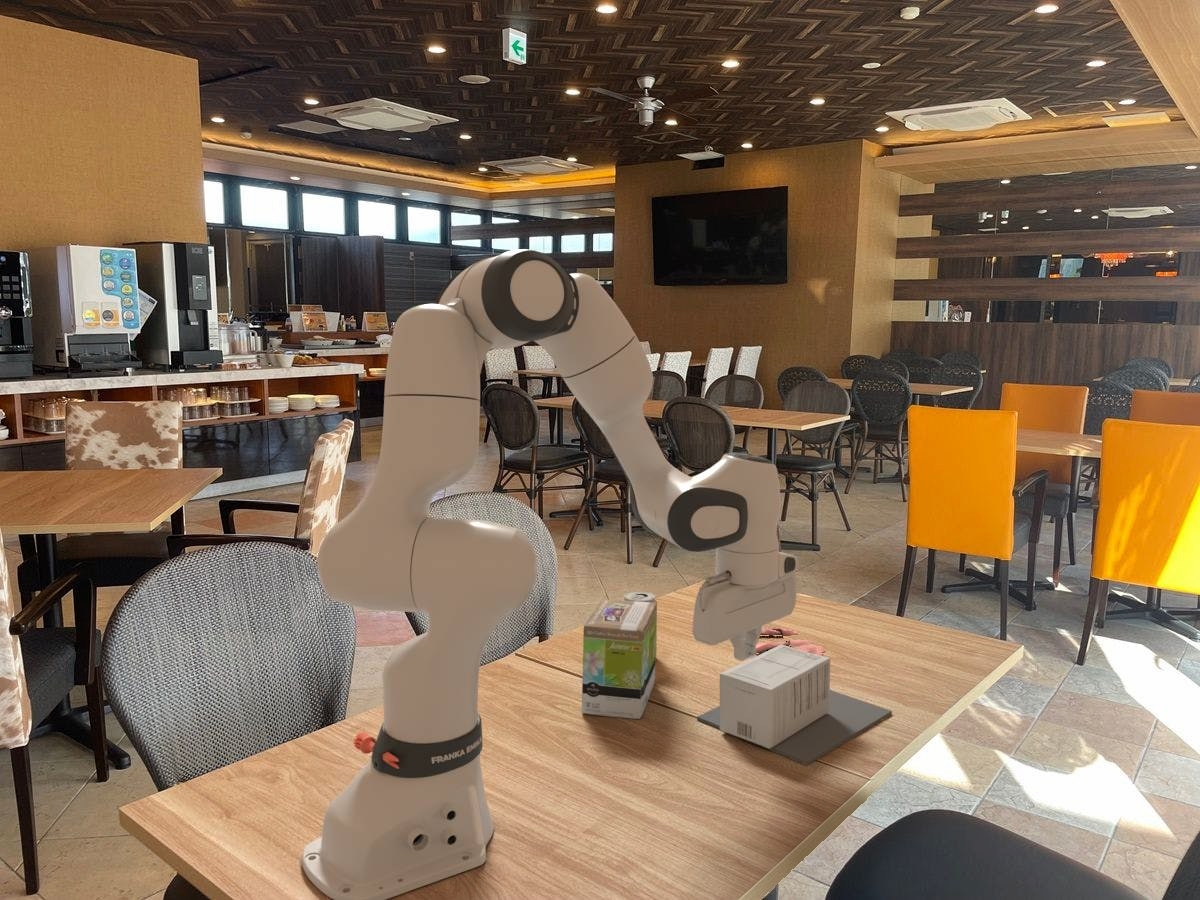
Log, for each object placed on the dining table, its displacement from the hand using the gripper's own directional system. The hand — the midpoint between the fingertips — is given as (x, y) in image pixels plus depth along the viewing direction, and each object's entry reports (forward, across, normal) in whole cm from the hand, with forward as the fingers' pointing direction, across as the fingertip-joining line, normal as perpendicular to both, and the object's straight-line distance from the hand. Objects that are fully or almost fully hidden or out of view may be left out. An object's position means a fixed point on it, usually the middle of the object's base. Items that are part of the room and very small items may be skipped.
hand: (744, 657), depth 129 cm
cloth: (+15, +38, +23) cm, 47 cm away
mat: (+13, +13, 0) cm, 19 cm away
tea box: (+14, -2, +24) cm, 28 cm away
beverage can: (+14, +13, +34) cm, 39 cm away
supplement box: (+8, 0, 0) cm, 8 cm away
